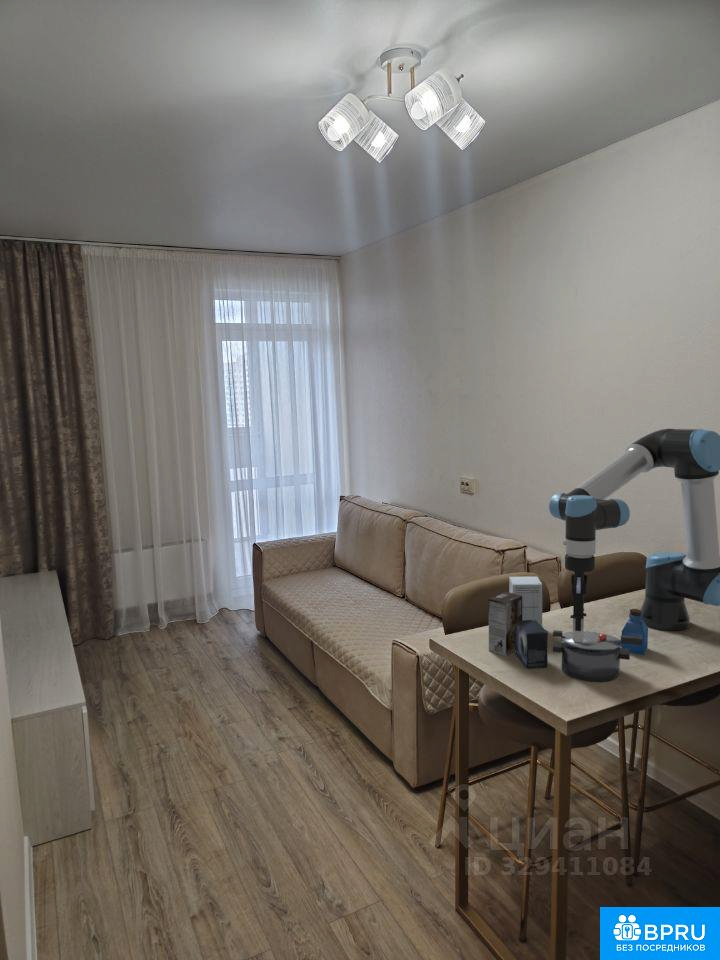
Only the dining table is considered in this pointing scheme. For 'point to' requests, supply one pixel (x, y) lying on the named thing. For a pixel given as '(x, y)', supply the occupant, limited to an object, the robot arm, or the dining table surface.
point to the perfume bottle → (636, 632)
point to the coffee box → (503, 622)
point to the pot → (591, 662)
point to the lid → (597, 640)
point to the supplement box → (528, 596)
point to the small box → (531, 644)
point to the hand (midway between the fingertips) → (577, 640)
